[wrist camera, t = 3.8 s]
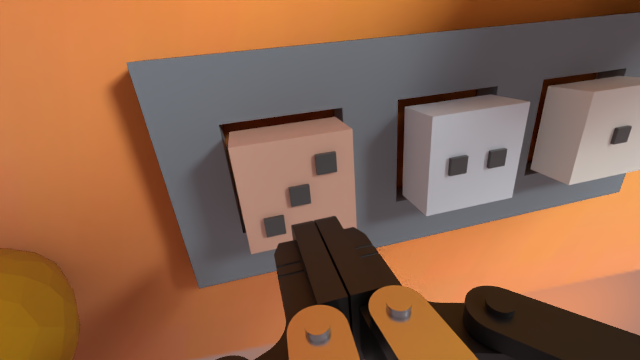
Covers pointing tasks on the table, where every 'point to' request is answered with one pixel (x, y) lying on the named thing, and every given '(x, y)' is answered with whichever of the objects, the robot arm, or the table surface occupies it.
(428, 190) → the tile two
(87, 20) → the table surface
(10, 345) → the apple
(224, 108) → the button board
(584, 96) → the tile one
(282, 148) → the tile three
